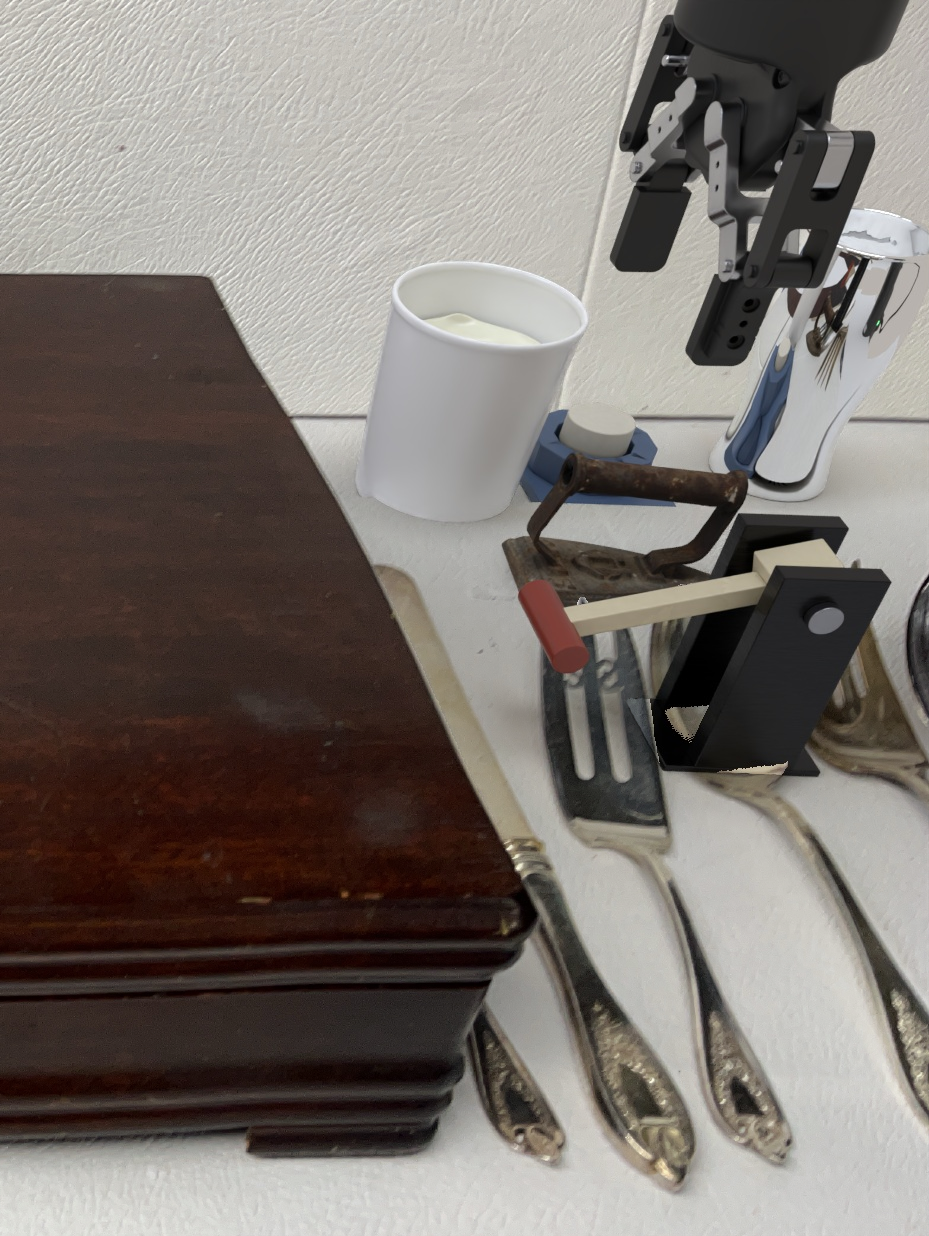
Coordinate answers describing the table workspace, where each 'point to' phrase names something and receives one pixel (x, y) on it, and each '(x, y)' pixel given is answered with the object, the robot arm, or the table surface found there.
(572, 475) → the clothes iron
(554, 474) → the button block
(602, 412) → the button
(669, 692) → the switch bracket
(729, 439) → the beer glass
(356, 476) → the candle holder
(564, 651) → the switch lever
